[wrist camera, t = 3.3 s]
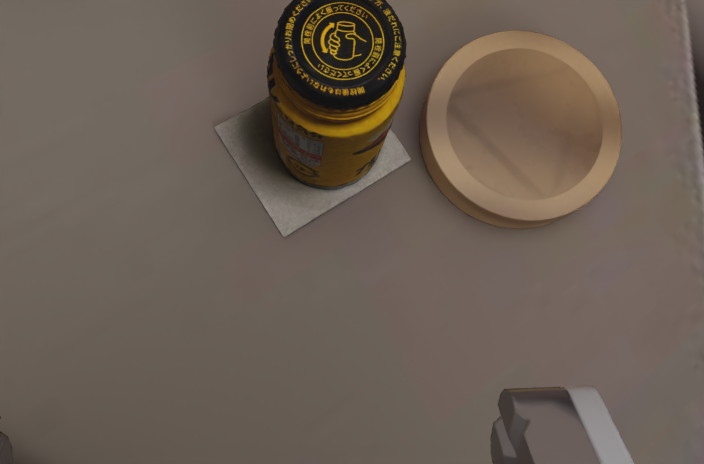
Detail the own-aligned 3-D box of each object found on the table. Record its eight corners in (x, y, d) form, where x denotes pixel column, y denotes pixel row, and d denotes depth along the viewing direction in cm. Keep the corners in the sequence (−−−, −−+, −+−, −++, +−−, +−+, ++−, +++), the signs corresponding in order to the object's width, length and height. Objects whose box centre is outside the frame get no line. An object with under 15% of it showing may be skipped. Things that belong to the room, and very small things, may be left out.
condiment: (411, 160, 37) (461, 68, 26) (283, 238, 36) (275, 178, 24) (341, 57, 38) (359, -77, 26) (214, 129, 37) (174, 21, 25)
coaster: (610, 231, 37) (629, 223, 35) (419, 226, 37) (426, 217, 34) (598, 52, 40) (616, 34, 37) (418, 43, 39) (425, 24, 37)
